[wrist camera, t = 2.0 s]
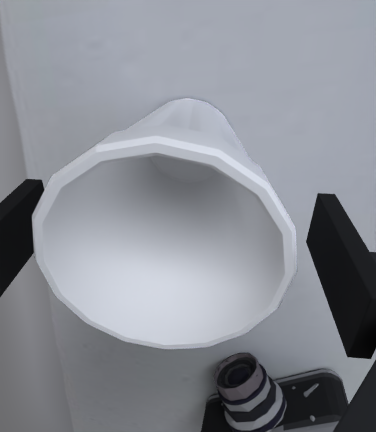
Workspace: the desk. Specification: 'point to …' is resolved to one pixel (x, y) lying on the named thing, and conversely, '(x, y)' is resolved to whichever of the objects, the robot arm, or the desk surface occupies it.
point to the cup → (166, 232)
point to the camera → (272, 400)
